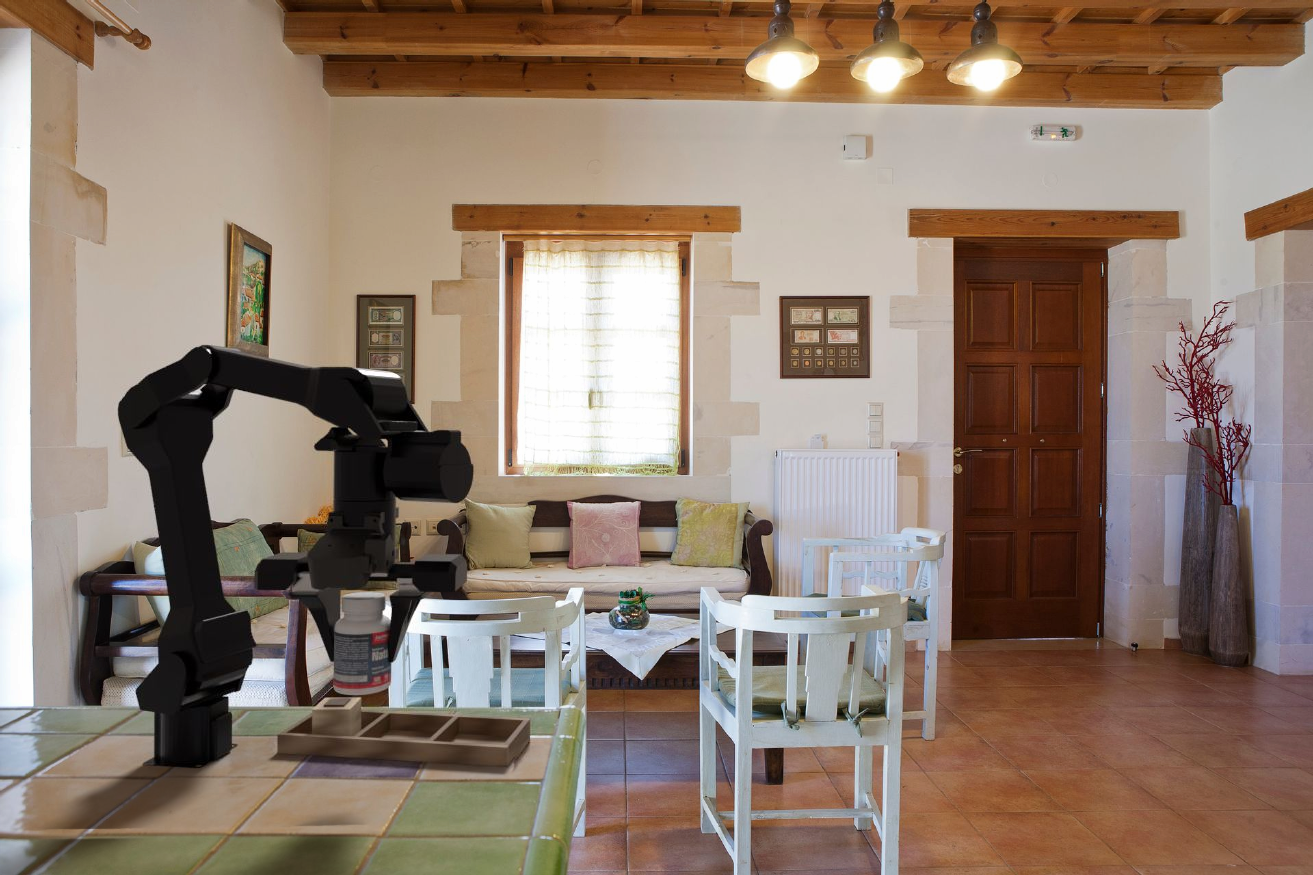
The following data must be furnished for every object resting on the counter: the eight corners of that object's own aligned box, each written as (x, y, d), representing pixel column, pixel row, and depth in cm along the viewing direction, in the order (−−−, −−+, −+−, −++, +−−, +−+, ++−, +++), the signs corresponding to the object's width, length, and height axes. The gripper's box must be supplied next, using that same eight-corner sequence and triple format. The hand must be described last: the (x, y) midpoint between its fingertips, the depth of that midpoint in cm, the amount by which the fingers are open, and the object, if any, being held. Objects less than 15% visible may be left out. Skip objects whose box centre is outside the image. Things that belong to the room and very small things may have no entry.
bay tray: (277, 757, 88) (277, 734, 88) (320, 729, 97) (320, 707, 97) (506, 771, 85) (507, 747, 85) (530, 740, 94) (530, 718, 94)
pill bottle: (378, 697, 78) (379, 601, 78) (323, 695, 78) (324, 600, 78) (399, 680, 83) (400, 591, 83) (348, 678, 84) (349, 589, 83)
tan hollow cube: (311, 746, 90) (312, 707, 90) (324, 733, 94) (325, 695, 94) (349, 746, 90) (350, 707, 90) (361, 732, 94) (361, 695, 94)
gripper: (225, 505, 72) (223, 685, 73) (442, 508, 73) (439, 687, 73) (281, 495, 84) (279, 651, 84) (469, 497, 84) (467, 653, 84)
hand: (363, 661), depth 81 cm, fingers closed on pill bottle, 5 cm apart
